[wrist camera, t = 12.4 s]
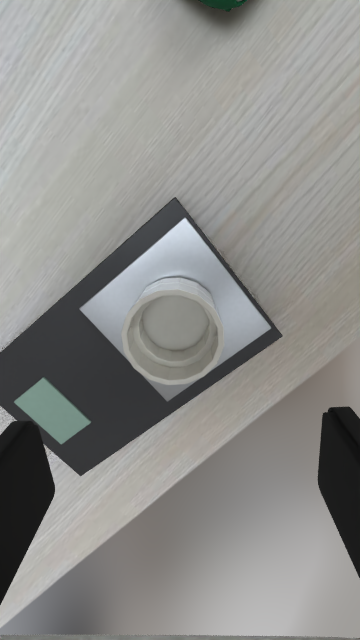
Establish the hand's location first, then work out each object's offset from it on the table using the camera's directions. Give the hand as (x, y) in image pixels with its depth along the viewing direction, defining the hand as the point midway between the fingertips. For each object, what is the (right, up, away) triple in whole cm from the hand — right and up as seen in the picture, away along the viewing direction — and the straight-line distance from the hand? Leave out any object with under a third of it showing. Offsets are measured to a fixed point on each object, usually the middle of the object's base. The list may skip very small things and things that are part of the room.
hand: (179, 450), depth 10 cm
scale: (-5, +2, +19) cm, 20 cm away
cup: (0, +4, +15) cm, 15 cm away
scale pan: (0, +5, +15) cm, 16 cm away
